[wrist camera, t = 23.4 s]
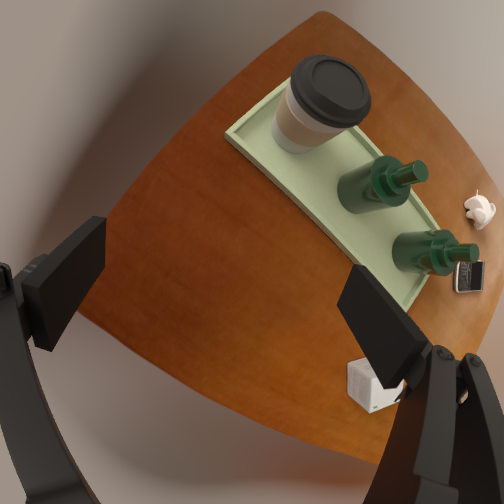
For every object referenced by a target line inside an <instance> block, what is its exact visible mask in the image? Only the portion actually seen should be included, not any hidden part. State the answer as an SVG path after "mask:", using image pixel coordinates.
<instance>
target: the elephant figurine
mask: <svg viewBox="0 0 504 504" xmlns="http://www.w3.org/2000/svg"><path fill="white" fill-rule="evenodd" d="M464 207H465V208H466V209H470V211H468V212H467V213H466V217H467V218H471V219H473V220H475V223H474V227H475V228H476V229H477V230H480V229H482V228H483V227H484V226H485V225H486V224H488V223H489V222H490V221H491V219H492V217H493V216H494V214H495V212H496V208H495V205H494V204H493V203H490V204H489V202H488V200H487V199H486V198H485V197H484V196H481V195H478V190H477V195H476V196H474V197H471V198H469V199H468V200H466V201H465V203H464Z"/></svg>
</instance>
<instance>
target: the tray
mask: <svg viewBox="0 0 504 504" xmlns="http://www.w3.org/2000/svg"><path fill="white" fill-rule="evenodd" d="M290 79H291V77H290V78H288V79H287V80H286V81H284V82H283V83H282V84H281V85H279V86H278V87H277V88H276V89H275V90H273V91H272V92H271V93H270V94H268V95H267V96H266V97H265V98H264V99H262V100H261V101H260V102H259V103H258V104H256V105H255V106H254V107H253V108H252V109H251V110H249V111H248V112H247V113H246V114H245V115H244V116H243V117H241V118H240V119H239V120H238V121H237V122H236V123H235V124H234V125H233V126H231V127H230V128H229V129H228V130H227V131H226V132H225V136H224V138H225V139H226V140H227V141H228V142H229V143H230V144H232V145H233V146H234V147H235V148H236V149H237V150H238V151H239V152H241V153H242V154H243V155H244V156H245V157H246V158H247V159H248V160H249V161H251V162H252V163H253V164H254V165H255V166H256V167H257V168H258V169H259V170H260V171H262V172H263V173H264V174H265V175H266V176H267V177H268V178H269V179H270V180H271V181H272V182H273V183H274V184H275V185H277V186H278V187H279V188H280V189H281V190H282V191H283V192H284V193H285V194H286V195H287V196H288V197H289V198H290V199H291V200H292V201H293V202H294V203H295V204H296V205H297V206H298V207H299V208H300V209H301V210H302V211H304V212H305V213H306V214H307V215H308V216H309V217H310V218H311V219H312V220H313V221H314V222H315V223H316V224H317V225H318V226H319V227H320V228H321V229H322V230H323V231H324V232H325V234H326V235H327V236H328V237H329V238H330V239H331V240H332V241H333V242H334V243H335V244H336V245H337V246H338V247H339V248H340V249H341V250H342V251H343V252H344V253H345V254H346V255H347V256H348V257H349V258H350V259H351V261H352V262H353V263H354V264H359V265H364V266H366V267H367V268H368V270H369V271H370V272H371V273H372V274H373V275H374V276H375V277H376V278H377V280H378V281H379V282H380V283H381V284H382V285H383V286H384V288H385V289H386V290H387V291H388V292H389V293H390V294H391V296H392V297H393V298H394V299H395V300H396V301H397V303H398V304H399V305H400V306H401V307H402V309H403V310H404V311H405V312H407V311H408V309H409V308H410V306H411V305H412V303H413V302H414V300H415V298H416V297H417V295H418V294H419V292H420V291H421V289H422V287H423V286H424V284H425V282H426V281H427V279H428V277H429V276H430V275H426V274H417V273H407V272H402V271H400V270H399V269H398V268H397V267H396V266H395V264H394V262H393V259H392V246H393V243H394V241H395V239H396V238H397V236H398V235H400V234H401V233H404V232H415V231H428V230H441V229H440V227H439V226H438V224H437V223H436V222H435V220H434V219H433V217H432V216H431V214H430V213H429V212H428V210H427V209H426V207H425V206H424V205H423V203H422V202H421V201H420V199H419V198H418V197H417V195H416V194H415V193H414V191H413V190H412V189H411V190H410V195H409V197H408V199H407V201H406V202H405V203H404V204H402V205H401V206H397V207H393V208H388V209H383V210H378V211H373V212H368V213H364V214H353V213H350V212H349V211H347V210H346V209H345V208H344V207H343V206H342V204H341V203H340V201H339V198H338V195H337V185H338V182H339V180H340V178H341V177H342V176H343V175H344V174H345V173H347V172H349V171H351V170H354V169H356V168H358V167H360V166H362V165H364V164H366V163H368V162H370V161H372V160H374V159H376V158H378V157H380V156H384V155H383V154H382V153H381V151H380V150H379V149H378V148H377V147H376V146H375V145H374V144H373V143H372V141H371V140H370V139H369V138H368V137H367V136H366V135H365V134H364V133H363V132H362V131H361V130H360V129H359V128H358V127H357V126H354V127H351V128H348V129H347V130H346V131H344V132H342V133H340V134H339V135H337V136H335V137H334V138H332V139H330V140H328V141H327V142H325V143H323V144H321V145H319V146H316V147H315V148H313V149H311V150H310V151H308V152H306V153H302V154H295V153H291V152H288V151H286V150H284V149H283V148H281V147H280V146H279V145H278V144H277V143H276V142H275V140H274V138H273V136H272V133H271V124H272V121H273V119H274V117H275V114H276V109H277V107H278V104H279V102H280V100H281V97H282V95H283V93H284V90H285V88H286V86H287V84H288V82H289V80H290Z"/></svg>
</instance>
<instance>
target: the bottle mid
mask: <svg viewBox="0 0 504 504" xmlns="http://www.w3.org/2000/svg"><path fill="white" fill-rule="evenodd" d="M427 179H428V169H427V166H426V165H425V164H424V162H422V161H420V160H416V161H414V162H411V163H408V164H406V165H403V164H402V163H401V162H400V161H399V160H398V159H396V158H394V157H392V156H388V155H384V156H380V157H378V158H376V159H374V160H372V161H370V162H368V163H366V164H364V165H362V166H360V167H358V168H356V169H354V170H351V171H349V172H347V173H345V174H344V175H343V176H342V177H341V178H340V180H339V182H338V185H337V195H338V198H339V201H340V203H341V204H342V206H343V207H344V208H345V209H346V210H347V211H349V212H350V213H353V214H364V213H368V212H373V211H378V210H383V209H388V208H393V207H397V206H401V205H402V204H404V203H405V202H406V201H407V199H408V197H409V195H410V190H411V185H415V184H418V183H422V182H425V181H426V180H427Z"/></svg>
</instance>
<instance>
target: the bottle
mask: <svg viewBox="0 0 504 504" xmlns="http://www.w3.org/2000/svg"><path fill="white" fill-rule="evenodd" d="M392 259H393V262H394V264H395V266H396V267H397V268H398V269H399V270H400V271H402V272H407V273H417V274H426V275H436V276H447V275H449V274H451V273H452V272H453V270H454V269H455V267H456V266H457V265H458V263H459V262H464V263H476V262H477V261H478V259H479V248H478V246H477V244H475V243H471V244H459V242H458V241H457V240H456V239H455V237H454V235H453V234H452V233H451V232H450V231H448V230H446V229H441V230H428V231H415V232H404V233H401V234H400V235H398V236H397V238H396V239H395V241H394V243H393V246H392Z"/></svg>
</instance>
